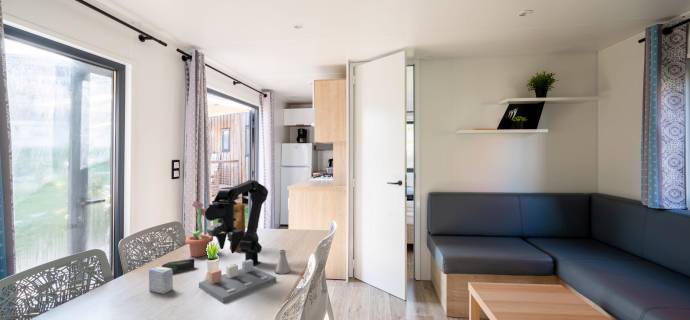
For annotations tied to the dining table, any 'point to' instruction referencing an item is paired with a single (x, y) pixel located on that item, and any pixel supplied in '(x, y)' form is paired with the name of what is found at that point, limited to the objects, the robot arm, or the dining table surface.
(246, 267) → the grey small block
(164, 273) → the medicine box
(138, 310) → the dining table surface
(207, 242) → the decorative flower
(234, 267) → the ivory cuboid
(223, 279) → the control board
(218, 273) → the salmon pink cuboid
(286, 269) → the flask
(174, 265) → the dark green block
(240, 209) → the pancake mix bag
